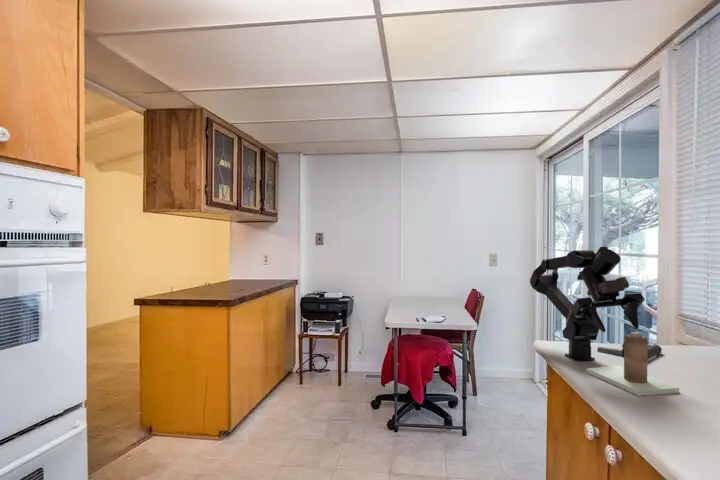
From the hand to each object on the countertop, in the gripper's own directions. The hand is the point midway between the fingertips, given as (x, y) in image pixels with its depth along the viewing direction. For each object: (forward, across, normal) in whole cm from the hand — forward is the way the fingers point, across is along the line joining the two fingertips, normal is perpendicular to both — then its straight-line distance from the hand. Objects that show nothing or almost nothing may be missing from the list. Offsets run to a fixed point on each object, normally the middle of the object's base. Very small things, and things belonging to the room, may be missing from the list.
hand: (621, 329), depth 116 cm
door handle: (-3, +15, +27) cm, 31 cm away
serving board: (+12, -1, +6) cm, 14 cm away
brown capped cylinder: (+13, -1, +4) cm, 13 cm away
